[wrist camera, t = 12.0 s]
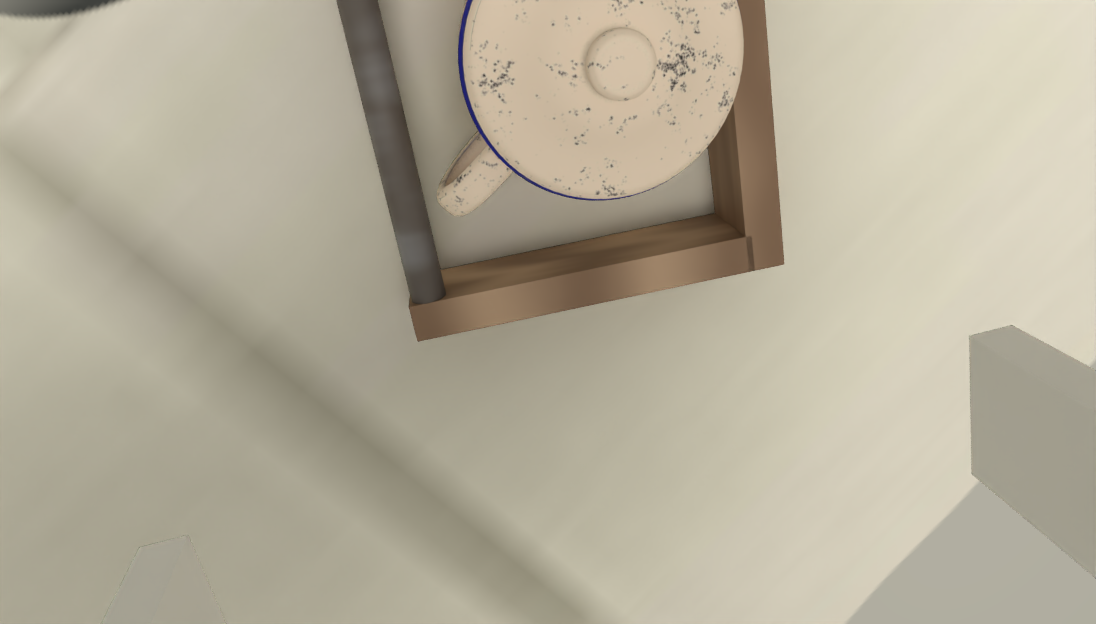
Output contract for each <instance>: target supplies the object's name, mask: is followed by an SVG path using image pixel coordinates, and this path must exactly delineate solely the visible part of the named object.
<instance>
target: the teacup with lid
mask: <svg viewBox="0 0 1096 624" xmlns="http://www.w3.org/2000/svg"><path fill="white" fill-rule="evenodd" d="M743 54H744V39H743V26H742V20H741V14H740V9H739V6H738V2H737V0H466V2H465V5H464V9H463V12H462V16H461V22H460V29H459V44H458V65H459V74H460V81H461V86H462V91H463V95H464V98H465V101H466V104H467V107H468V110H469V112H470V115H471V117H472V119H473V121H474V123H475V125H476V127H477V129H478V132H477V133H476V134H475V135H474V136H473V137H472V138H471V140H470V141H469V142H468V143H467V144H466V146H465V147H464V148H463V149H462V151H461V152H460V153H459V154H458V156H457V157H456V158H455V160H454V161H453V162H452V164H451V165H450V167H449V168H448V170H447V171H446V173H445V175H444V176H443V178H442V180H441V182H440V184H439V187H438V190H437V200H438V202H439V204H440V205H441V206H442V207H443V208H444V209H445V210H447V211H448V212H449V213H450V214H452V215H454V216H464V215H467V214H468V213H470V212H472V211H473V210H475V209H476V208H477V207H478V206H480V205H481V204H482V203H483V202H484V201H485V200H487V199H488V198H489V197H490V196H491V195H492V194H493V193H494V192H495V191H496V190H497V189H498V187H499V186H500V185H501V184H502V183H503V182H504V181H505V180H506V179H507V178H508V177H509V176H510V174H511V173H512V172H513V171H514V172H515V173H516V174H517V175H519V176H520V177H522V178H523V179H525V180H526V181H528V182H530V183H532V184H534V185H535V186H537V187H539V188H541V189H544V190H546V191H549V192H551V193H554V194H557V195H561V196H564V197H569V198H574V199H581V200H612V199H620V198H625V197H630V196H633V195H636V194H640V193H643V192H645V191H648V190H650V189H653V188H655V187H657V186H659V185H661V184H663V183H665V182H666V181H668V180H670V179H671V178H673V177H674V176H676V175H677V174H679V173H680V172H681V171H683V170H684V169H685V168H686V167H688V166H689V165H690V164H691V163H692V162H693V161H694V160H695V159H696V158H698V157H699V156H700V155H701V153H702V152H703V151H704V150H705V149H706V148H707V147H708V146H709V144H710V143H711V142H712V140H713V139H714V137H715V136H716V135H717V133H718V132H719V130H720V128H721V127H722V125H723V123H724V122H725V120H726V118H727V115H728V113H729V111H730V109H731V107H732V104H733V102H734V99H735V96H736V93H737V89H738V86H739V82H740V77H741V72H742V65H743Z"/></svg>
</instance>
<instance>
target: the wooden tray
mask: <svg viewBox="0 0 1096 624" xmlns="http://www.w3.org/2000/svg"><path fill="white" fill-rule="evenodd" d="M737 2H738V6H739V9H740V14H741V20H742V26H743V39H744V54H743V65H742V72H741V77H740V82H739V86H738V89H737V93H736V96H735V99H734V102H733V104H732V107H731V109H730V111H729V113H728V115H727V118H726V120H725V122H724V123H723V125H722V127H721V128H720V130H719V132H718V133H717V135H716V136H715V137H714V139H713V140H712V142H711V143H710V144H709V146H708V151H709V161H710V170H711V180H712V189H713V199H714V209H715V213H714V214H709V215H704V216H699V217H695V218H690V219H685V220H680V221H675V222H670V223H665V224H661V225H656V226H651V227H646V228H641V229H636V230H632V231H627V232H622V233H617V234H612V235H607V236H602V237H598V238H593V239H588V240H583V241H578V242H573V243H569V244H564V245H559V246H554V247H549V248H544V249H539V250H535V251H530V252H525V253H520V254H515V255H510V256H506V257H501V258H496V259H491V260H486V261H481V262H476V263H472V264H467V265H462V266H457V267H452V268H447V269H443V270H440V265H439V261H438V257H437V252H436V248H435V244H434V240H433V235H432V231H431V227H430V222H429V218H428V214H427V210H426V205H425V201H424V197H423V192H422V188H421V184H420V180H419V175H418V171H417V167H416V163H415V158H414V154H413V150H412V145H411V141H410V137H409V133H408V128H407V124H406V120H405V115H404V111H403V107H402V103H401V98H400V94H399V90H398V85H397V81H396V77H395V73H394V68H393V64H392V60H391V55H390V51H389V47H388V43H387V38H386V34H385V30H384V25H383V21H382V17H381V13H380V8H379V4H378V0H337V4H338V8H339V12H340V16H341V20H342V24H343V28H344V32H345V36H346V40H347V44H348V48H349V52H350V56H351V60H352V64H353V68H354V72H355V76H356V80H357V84H358V88H359V92H360V96H361V100H362V104H363V108H364V112H365V116H366V120H367V124H368V128H369V132H370V136H371V140H372V144H373V148H374V152H375V156H376V160H377V164H378V168H379V172H380V176H381V180H382V184H383V188H384V192H385V196H386V200H387V204H388V208H389V212H390V216H391V220H392V224H393V228H394V232H395V236H396V240H397V244H398V248H399V252H400V256H401V260H402V264H403V268H404V272H405V276H406V280H407V284H408V288H409V292H410V299H409V310H410V314H411V318H412V322H413V326H414V330H415V334H416V337H417V341H423V340H428V339H432V338H437V337H442V336H447V335H451V334H456V333H461V332H466V331H470V330H475V329H480V328H485V327H489V326H494V325H499V324H504V323H508V322H513V321H518V320H522V319H527V318H532V317H537V316H541V315H546V314H551V313H556V312H560V311H565V310H570V309H575V308H579V307H584V306H589V305H594V304H598V303H603V302H608V301H613V300H617V299H622V298H627V297H632V296H636V295H641V294H646V293H651V292H655V291H660V290H665V289H670V288H674V287H679V286H684V285H688V284H693V283H698V282H703V281H707V280H712V279H717V278H722V277H726V276H731V275H736V274H741V273H745V272H750V271H755V270H760V269H764V268H769V267H774V266H779V265H783V264H784V255H783V242H782V228H781V215H780V202H779V188H778V175H777V161H776V148H775V135H774V121H773V108H772V95H771V81H770V68H769V55H768V41H767V28H766V15H765V1H764V0H737Z"/></svg>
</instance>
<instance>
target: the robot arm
mask: <svg viewBox="0 0 1096 624" xmlns="http://www.w3.org/2000/svg"><path fill="white" fill-rule="evenodd" d="M969 351H970V410H971V469H972V475H973V476H975V477H976V478H977V479H978V480H979V481H980V482H982V483H983V484H984V485H985V486H986V487H988V488H989V489H990V490H991V491H992V492H994V493H995V494H996V495H997V496H998V497H999V498H1001V499H1002V500H1003V501H1004V502H1005V503H1007V504H1008V505H1009V506H1010V507H1012V509H1014V510H1015V511H1016V512H1017V513H1018V514H1020V515H1021V516H1022V517H1023V518H1024V519H1026V520H1027V521H1028V522H1029V523H1030V524H1032V525H1033V526H1034V527H1035V528H1036V529H1037V530H1039V531H1040V532H1041V533H1042V534H1043V535H1044V536H1046V537H1047V538H1048V539H1049V540H1050V541H1052V542H1053V543H1054V544H1055V545H1056V546H1057V547H1059V548H1060V549H1061V550H1062V551H1063V552H1065V553H1066V554H1067V555H1068V556H1069V557H1071V558H1072V559H1073V560H1074V561H1075V562H1076V563H1078V564H1079V565H1080V566H1081V567H1082V568H1084V569H1085V570H1086V571H1087V572H1088V573H1090V574H1091V575H1092V576H1093V577H1094V578H1095V579H1096V370H1094V369H1093V368H1091V367H1089V366H1087V365H1085V364H1083V363H1081V362H1080V361H1078V360H1076V359H1074V358H1072V357H1070V356H1068V355H1067V354H1065V353H1063V352H1061V351H1059V350H1057V349H1055V348H1054V347H1052V346H1050V345H1048V344H1046V343H1044V342H1042V341H1041V340H1039V339H1037V338H1035V337H1033V336H1031V335H1029V334H1028V333H1026V332H1024V331H1022V330H1020V329H1018V328H1016V327H1015V326H1013V325H1010V326H1006V327H1002V328H998V329H994V330H990V331H986V332H982V333H978V334H974V335H970V336H969ZM101 624H226V622H225V619H224V617H223V615H222V612H221V610H220V608H219V605H218V603H217V601H216V598H215V596H214V594H213V591H212V589H211V587H210V584H209V582H208V580H207V577H206V575H205V573H204V570H203V568H202V566H201V563H200V561H199V559H198V556H197V554H196V552H195V549H194V547H193V545H192V542H191V540H190V538H189V536H188V535H185V536H181V537H177V538H173V539H170V540H166V541H162V542H158V543H154V544H150V545H146V546H142V547H139V549H138V551H137V553H136V555H135V557H134V559H133V561H132V563H131V565H130V567H129V569H128V571H127V573H126V575H125V577H124V579H123V581H122V583H121V585H120V587H119V589H118V591H117V593H116V595H115V597H114V599H113V601H112V603H111V605H110V607H109V609H108V611H107V613H106V615H105V617H104V619H103V621H102V623H101Z"/></svg>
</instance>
